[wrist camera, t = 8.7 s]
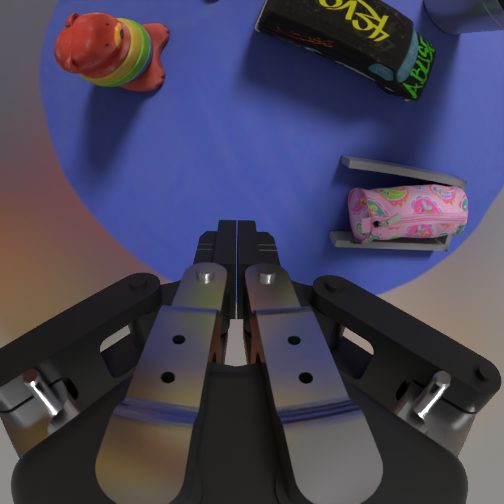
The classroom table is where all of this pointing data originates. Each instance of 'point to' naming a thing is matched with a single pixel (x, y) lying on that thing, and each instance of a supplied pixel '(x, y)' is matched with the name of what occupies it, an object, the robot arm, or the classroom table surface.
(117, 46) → the stacking bear
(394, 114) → the classroom table surface
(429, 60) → the toy van
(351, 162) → the frame
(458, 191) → the pencil case
